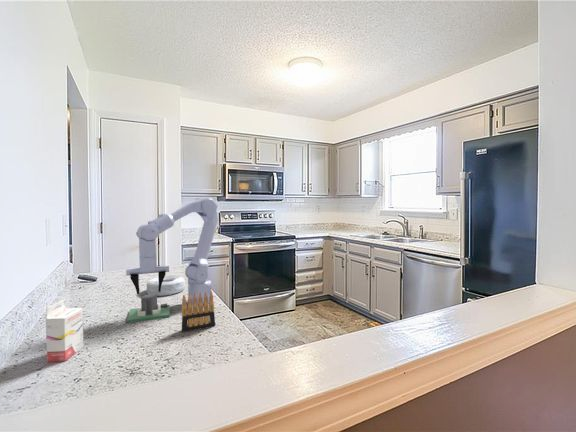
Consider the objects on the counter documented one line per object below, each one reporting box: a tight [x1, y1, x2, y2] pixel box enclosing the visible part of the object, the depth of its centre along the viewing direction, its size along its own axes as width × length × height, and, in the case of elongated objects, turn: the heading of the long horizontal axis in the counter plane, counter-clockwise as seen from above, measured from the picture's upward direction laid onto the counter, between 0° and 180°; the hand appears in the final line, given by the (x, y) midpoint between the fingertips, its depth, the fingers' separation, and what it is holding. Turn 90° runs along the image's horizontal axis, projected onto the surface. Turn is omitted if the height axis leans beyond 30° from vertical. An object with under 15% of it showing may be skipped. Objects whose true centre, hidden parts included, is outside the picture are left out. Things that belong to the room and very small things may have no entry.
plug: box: [140, 293, 158, 315], centre depth 114 cm, size 4×5×6 cm
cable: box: [146, 274, 186, 297], centre depth 145 cm, size 18×18×6 cm
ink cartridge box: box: [45, 298, 84, 363], centre depth 85 cm, size 9×5×15 cm, turn 5°
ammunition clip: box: [181, 290, 216, 333], centre depth 102 cm, size 11×2×12 cm, turn 115°
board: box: [126, 303, 171, 324], centre depth 115 cm, size 14×12×2 cm
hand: (149, 292), depth 114 cm, fingers open, 7 cm apart
